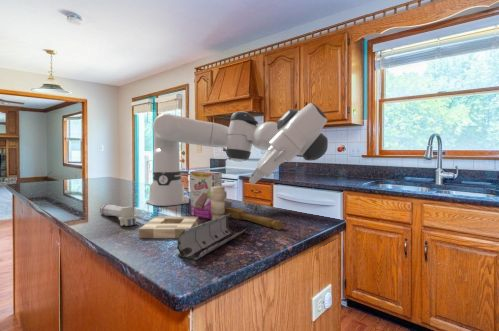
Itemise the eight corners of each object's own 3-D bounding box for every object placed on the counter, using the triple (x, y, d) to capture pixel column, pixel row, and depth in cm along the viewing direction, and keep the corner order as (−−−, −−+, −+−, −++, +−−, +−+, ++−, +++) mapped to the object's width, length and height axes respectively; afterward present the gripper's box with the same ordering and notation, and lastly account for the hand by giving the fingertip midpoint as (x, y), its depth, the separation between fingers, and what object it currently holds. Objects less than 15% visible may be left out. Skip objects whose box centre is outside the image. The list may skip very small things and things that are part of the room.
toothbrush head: (111, 203, 118) (138, 203, 99) (113, 220, 117) (140, 223, 99) (97, 204, 114) (122, 205, 96) (98, 222, 114) (123, 226, 95)
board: (155, 224, 101) (155, 216, 100) (198, 224, 100) (198, 216, 100) (139, 237, 86) (138, 229, 85) (189, 238, 85) (189, 229, 85)
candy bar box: (189, 216, 111) (189, 171, 110) (199, 213, 116) (198, 170, 114) (213, 220, 105) (213, 173, 104) (222, 217, 109) (222, 172, 108)
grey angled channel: (185, 271, 70) (235, 241, 92) (203, 253, 67) (249, 227, 90) (166, 245, 71) (220, 222, 94) (183, 227, 69) (234, 208, 92)
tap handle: (276, 221, 93) (218, 206, 116) (276, 231, 93) (218, 214, 116) (283, 220, 95) (225, 205, 118) (283, 229, 95) (225, 213, 118)
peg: (211, 227, 97) (211, 186, 96) (225, 227, 97) (225, 186, 96) (210, 231, 92) (209, 188, 92) (224, 231, 92) (223, 188, 91)
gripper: (295, 157, 82) (258, 194, 83) (286, 154, 102) (257, 183, 103) (278, 140, 82) (242, 177, 83) (273, 141, 102) (244, 170, 103)
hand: (250, 181), depth 93 cm, fingers open, 8 cm apart
